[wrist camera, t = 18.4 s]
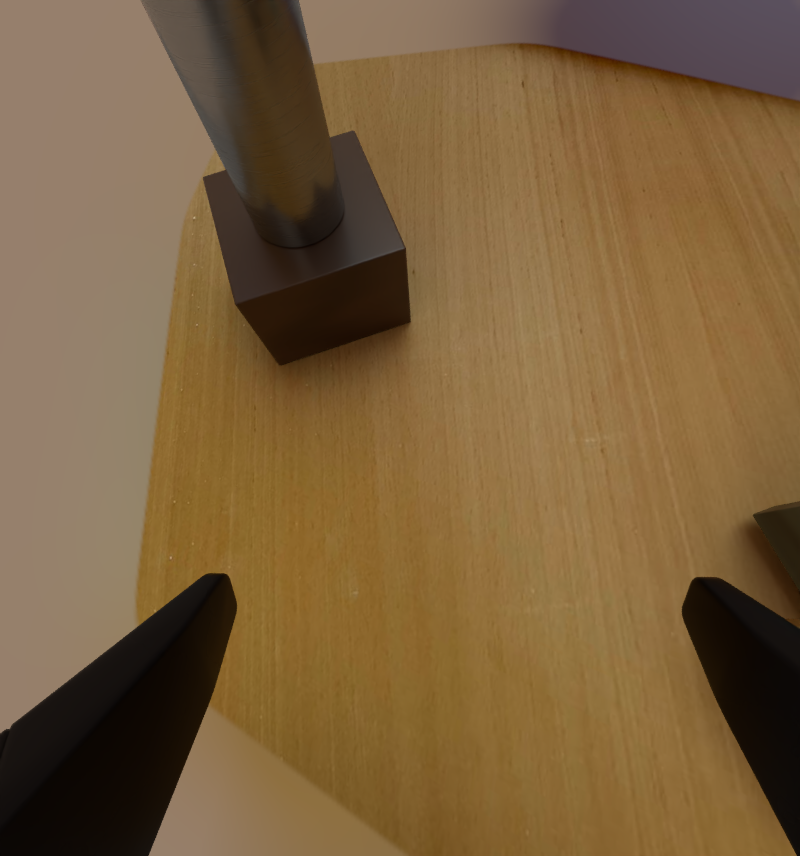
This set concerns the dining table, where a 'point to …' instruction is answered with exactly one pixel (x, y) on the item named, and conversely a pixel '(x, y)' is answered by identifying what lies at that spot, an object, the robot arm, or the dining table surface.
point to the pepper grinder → (258, 108)
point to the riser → (317, 266)
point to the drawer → (784, 537)
